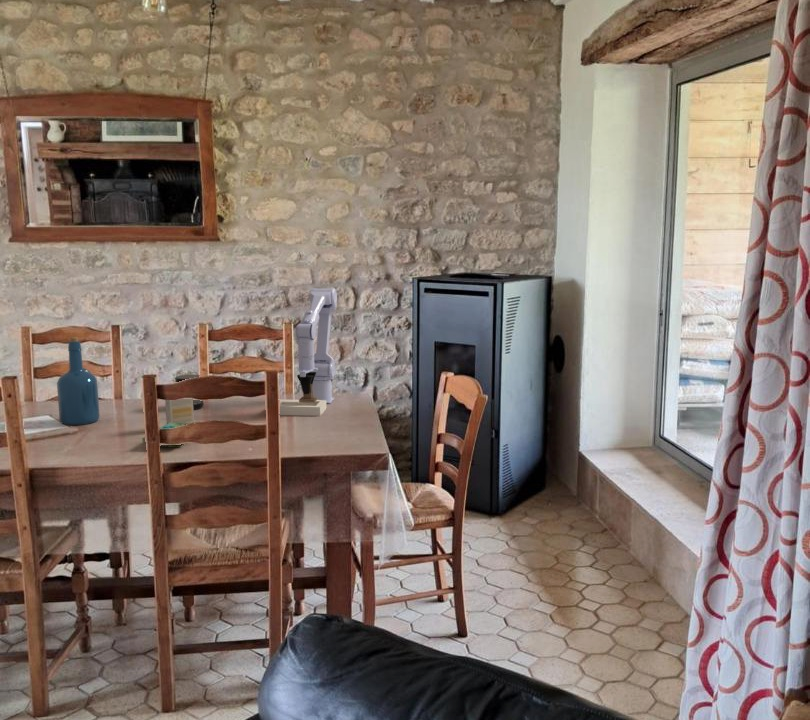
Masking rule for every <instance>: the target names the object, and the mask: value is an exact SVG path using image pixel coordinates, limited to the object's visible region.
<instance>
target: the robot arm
mask: <svg viewBox="0 0 810 720" xmlns="http://www.w3.org/2000/svg"><path fill="white" fill-rule="evenodd" d="M308 299H309V303H310V305H309V309H308V310H306V311H305V312H304V315H303V317H302V320H301V322H300V323H298V324H297V325H296V326H295V330H294V331H295V333H294V335H295V338H296V344H297V348H298V349H297V350H298V351H297V352H298V354H297V355H298V368H297V369H298V372H299V374H297V375H296V376H297V380H298V381H299V383H300V386H301V390H302V394H309V393H310V385H311V384H313V397H317V400H326V404H331V403H332V402H333V401H334V399H335V396H333V383H332V379H333V378H334V377H335V374H336V361H335V358H333V357H332V356H331V355H330V354H329V350H330V337H331V324H332V323H331V322H332V315H333V312H335V311H337V306H338V305H337V303H338V292H337V289H335V288H334V287H332V288H317V287H316V288H315V287H311V288H310V290H309V293H308ZM317 325H318V326H317ZM316 337H317V339H316ZM315 339H316V348H315ZM315 349H316V350H315Z"/></svg>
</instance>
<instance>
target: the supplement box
mask: <svg viewBox="0 0 810 720" xmlns="http://www.w3.org/2000/svg"><path fill="white" fill-rule="evenodd" d="M164 400H165V399H164ZM164 402H165V403H164V404H165V416H166V418H165V419H166V424H168V423H191V422H194V423H195V412H194V411H195V410H193V399H180V400H165V401H164Z"/></svg>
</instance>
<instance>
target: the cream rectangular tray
mask: <svg viewBox="0 0 810 720" xmlns="http://www.w3.org/2000/svg"><path fill="white" fill-rule="evenodd" d="M279 400H280V415H279V416H300V417H301V416H302V417H304V416H307V417H309V416H310V417H313V416H315V417H320V416H322V415H323V413H324V412H325V411H326V409H327V403H326V400H316V401H315V402H299V399H279Z"/></svg>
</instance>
